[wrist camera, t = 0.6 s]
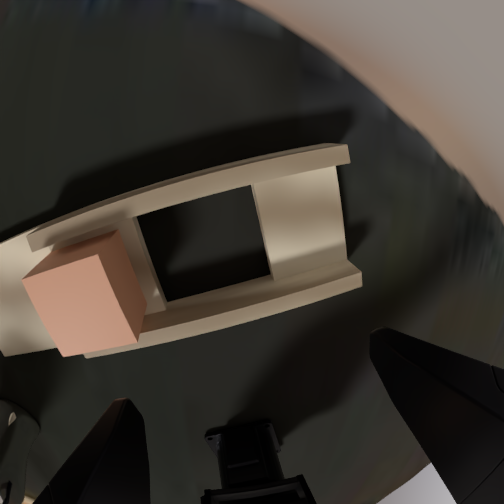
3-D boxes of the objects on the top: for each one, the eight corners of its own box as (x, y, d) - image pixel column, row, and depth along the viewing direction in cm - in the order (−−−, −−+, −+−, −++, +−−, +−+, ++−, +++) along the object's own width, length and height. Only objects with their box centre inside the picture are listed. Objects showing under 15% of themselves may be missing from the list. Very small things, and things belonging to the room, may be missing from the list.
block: (147, 303, 18) (137, 342, 14) (82, 319, 17) (63, 357, 14) (118, 229, 16) (97, 254, 12) (50, 252, 16) (21, 279, 12)
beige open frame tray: (341, 267, 20) (362, 286, 18) (9, 349, 18) (-5, 371, 16) (325, 142, 17) (347, 144, 14) (-37, 260, 15) (-57, 276, 12)
